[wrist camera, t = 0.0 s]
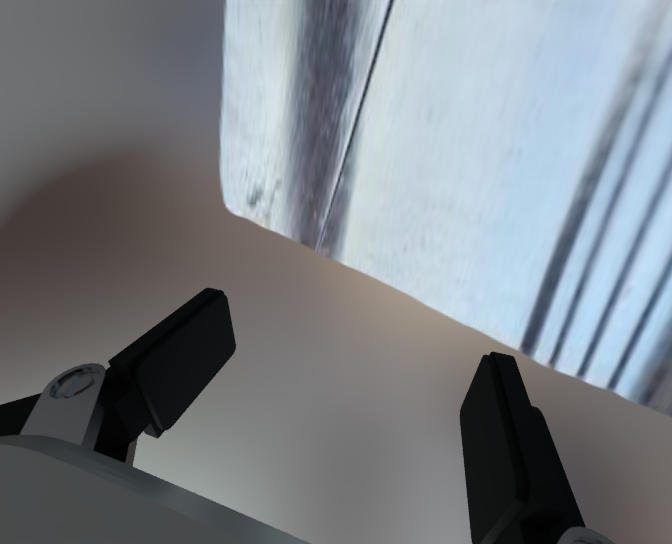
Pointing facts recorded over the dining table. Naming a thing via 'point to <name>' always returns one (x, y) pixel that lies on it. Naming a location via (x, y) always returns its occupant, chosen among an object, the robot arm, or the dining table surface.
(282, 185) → the dining table surface
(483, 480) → the robot arm
